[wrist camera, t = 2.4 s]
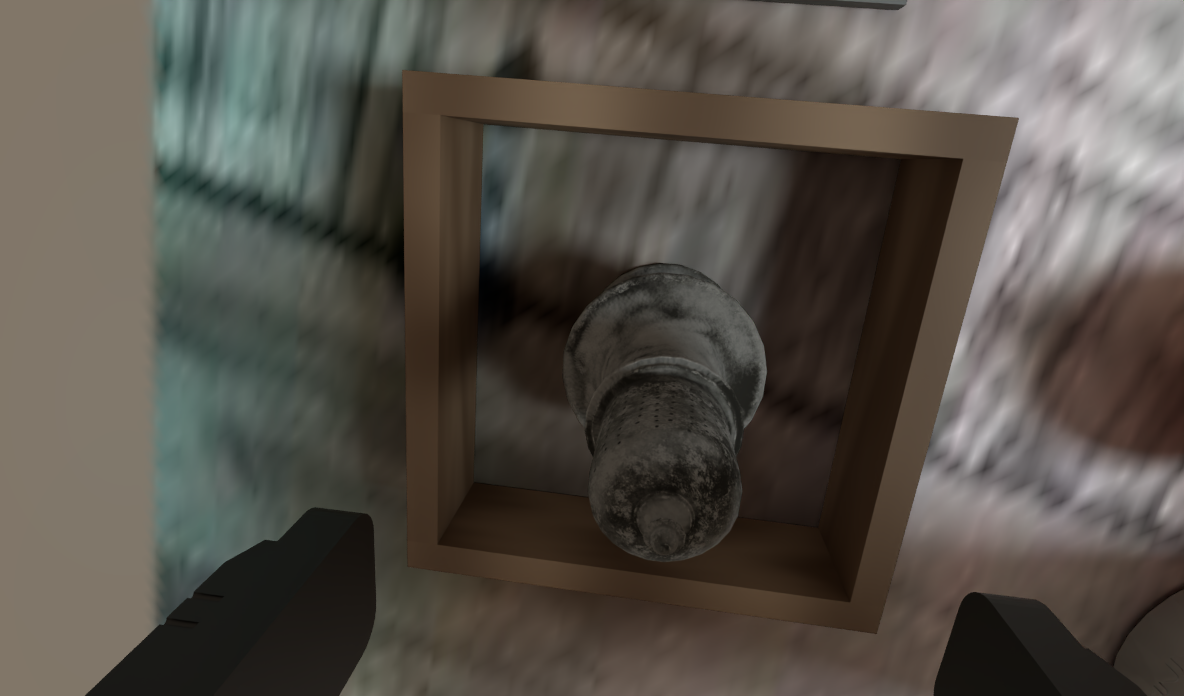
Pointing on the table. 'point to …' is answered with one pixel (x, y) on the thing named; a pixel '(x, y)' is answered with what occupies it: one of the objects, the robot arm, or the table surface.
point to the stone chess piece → (664, 408)
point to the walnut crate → (876, 395)
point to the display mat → (851, 3)
